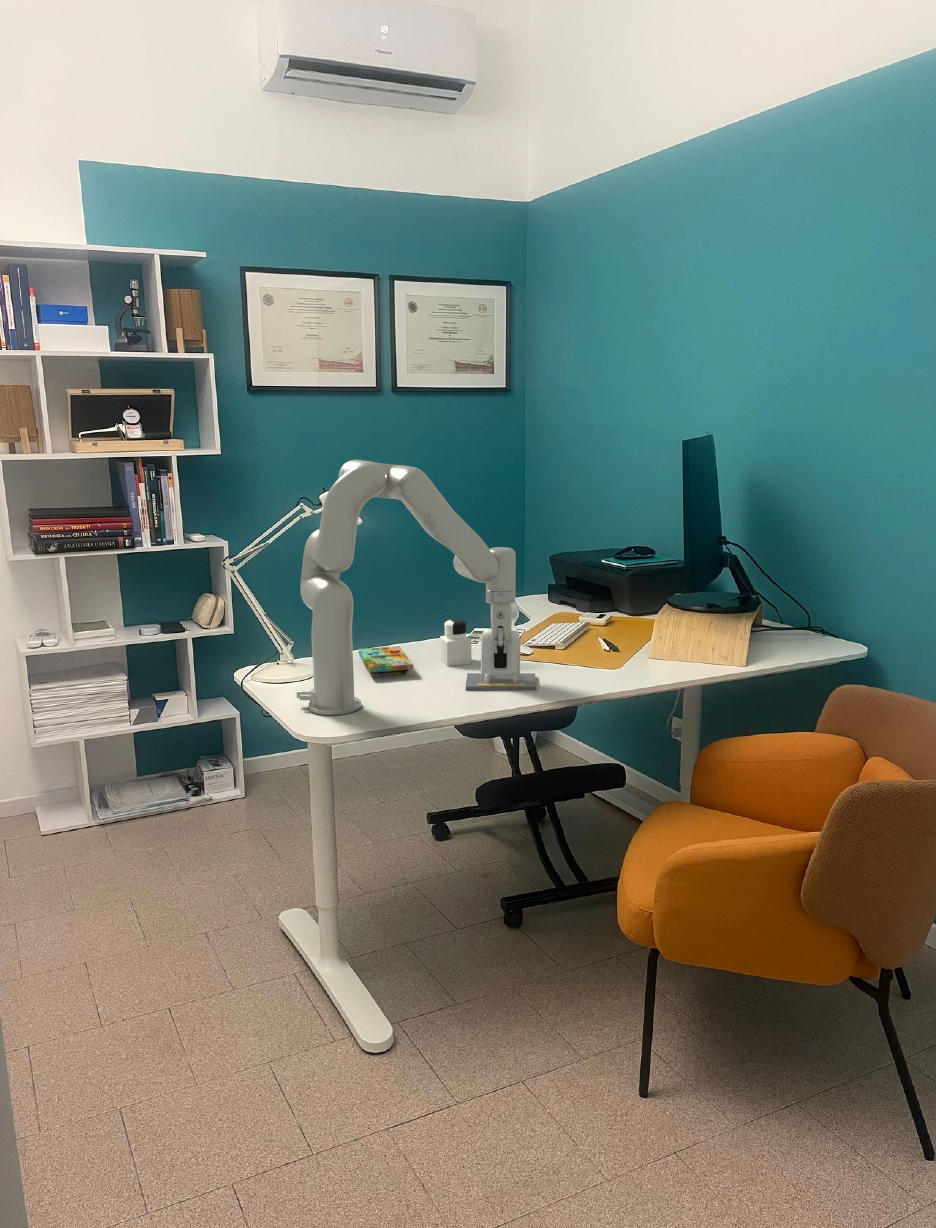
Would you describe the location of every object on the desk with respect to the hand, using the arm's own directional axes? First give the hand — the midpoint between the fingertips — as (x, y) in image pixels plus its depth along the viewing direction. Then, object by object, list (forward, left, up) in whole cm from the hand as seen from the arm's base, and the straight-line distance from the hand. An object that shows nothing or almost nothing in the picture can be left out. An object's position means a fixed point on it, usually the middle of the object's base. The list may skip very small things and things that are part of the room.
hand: (500, 664), depth 243 cm
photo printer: (0, 0, -3) cm, 3 cm away
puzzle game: (-32, +14, -6) cm, 35 cm away
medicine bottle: (-13, +21, -5) cm, 25 cm away
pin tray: (0, 0, -5) cm, 5 cm away
